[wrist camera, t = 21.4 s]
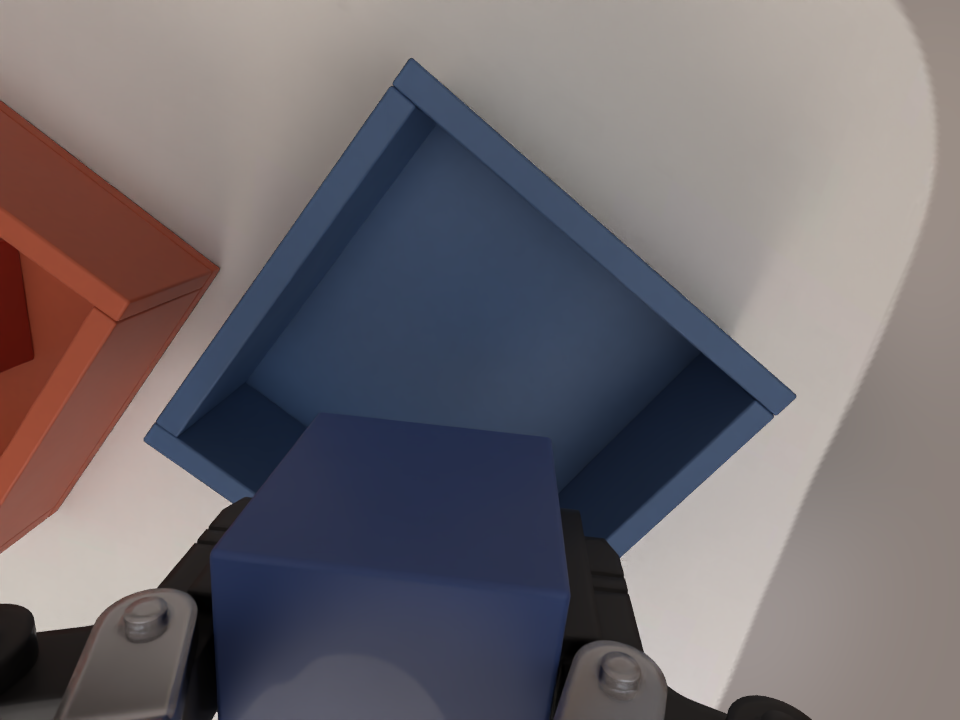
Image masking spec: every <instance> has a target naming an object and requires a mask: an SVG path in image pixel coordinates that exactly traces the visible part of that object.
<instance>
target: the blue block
mask: <svg viewBox="0 0 960 720" xmlns="http://www.w3.org/2000/svg"><path fill="white" fill-rule="evenodd" d="M210 573H211V592H212V611H213V630H214V649H215V668H216V687H217V706H218V720H550V715H551V709H552V703H553V697H554V691H555V685H556V679H557V673H558V668H559V662H560V656H561V650H562V644H563V638H564V632H565V626H566V621H567V615H568V609H569V603H570V597H571V594H570V586H569V578H568V570H567V562H566V554H565V546H564V538H563V530H562V521H561V513H560V505H559V497H558V489H557V481H556V473H555V465H554V457H553V448H552V442H551V439H550V438H548V437H542V436H533V435H524V434H515V433H506V432H496V431H487V430H478V429H469V428H460V427H451V426H442V425H433V424H424V423H415V422H406V421H397V420H388V419H379V418H370V417H361V416H352V415H343V414H334V413H325V412H322V413H318V415H317V416H316V417H315V418H314V420H313V421H312V422H311V424H310V425H309V426H308V427H307V429H306V430H305V431H304V433H303V434H302V435H301V436H300V438H299V439H298V440H297V441H296V443H295V444H294V445H293V447H292V448H291V449H290V450H289V452H288V453H287V454H286V456H285V457H284V458H283V459H282V461H281V462H280V463H279V464H278V466H277V467H276V468H275V470H274V471H273V472H272V473H271V475H270V476H269V477H268V479H267V480H266V481H265V482H264V484H263V485H262V486H261V488H260V489H259V490H258V491H257V493H256V494H255V495H254V496H253V498H252V499H251V500H250V502H249V503H248V504H247V505H246V507H245V508H244V509H243V511H242V512H241V513H240V514H239V516H238V517H237V518H236V519H235V521H234V522H233V523H232V525H231V526H230V527H229V528H228V530H227V531H226V532H225V534H224V535H223V536H222V537H221V539H220V540H219V541H218V542H217V544H216V545H215V546H214V548H213V549H212V551H211V553H210Z"/></svg>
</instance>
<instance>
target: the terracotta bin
mask: <svg viewBox="0 0 960 720" xmlns="http://www.w3.org/2000/svg"><path fill="white" fill-rule="evenodd" d="M0 238H2V239H3V240H5V241H6V242H8V243H9V244H10V245H12V246H13V247H14V248H16V249H17V250H19V257H20V264H21V271H22V278H23V285H24V292H25V299H26V306H27V313H28V320H29V327H30V334H31V341H32V348H33V355H34V359H33V360H31V361H28V362H26V363H24V364H21V365H19V366H16V367H14V368H11V369H9V370H6V371H4V372H2V373H0V554H1V553H2V552H3V551H4V550H6V549H7V548H8V547H10V546H11V545H12V544H14V543H15V542H16V541H18V540H19V539H20V538H22V537H23V536H24V535H26V534H27V533H28V532H29V531H31V530H32V529H33V528H35V527H36V526H37V525H39V524H40V523H41V522H43V521H44V520H45V519H47V517H49V516H51V515H52V514H53V513H55V512H56V511H57V510H58V509H59V507H60V506H61V504H62V503H63V501H64V500H65V498H66V497H67V495H68V494H69V493H70V491H71V490H72V488H73V487H74V485H75V484H76V482H77V481H78V479H79V478H80V476H81V475H82V473H83V472H84V470H85V469H86V467H87V466H88V464H89V463H90V461H91V460H92V458H93V457H94V456H95V454H96V453H97V451H98V450H99V448H100V447H101V445H102V444H103V442H104V441H105V439H106V438H107V436H108V435H109V433H110V432H111V430H112V429H113V427H114V426H115V424H116V423H117V421H118V420H119V418H120V417H121V416H122V414H123V413H124V411H125V410H126V408H127V407H128V405H129V404H130V402H131V401H132V399H133V398H134V396H135V395H136V393H137V392H138V390H139V389H140V387H141V386H142V384H143V383H144V381H145V380H146V379H147V377H148V376H149V374H150V373H151V371H152V370H153V368H154V367H155V365H156V364H157V362H158V361H159V359H160V358H161V356H162V355H163V353H164V352H165V350H166V349H167V347H168V346H169V344H170V343H171V341H172V340H173V339H174V337H175V336H176V334H177V333H178V331H179V330H180V328H181V327H182V325H183V324H184V322H185V321H186V319H187V318H188V316H189V315H190V313H191V312H192V310H193V309H194V307H195V306H196V304H197V303H198V302H199V300H200V299H201V297H202V296H203V294H204V293H205V291H206V290H207V288H208V287H209V285H210V284H211V282H212V281H213V279H214V278H215V276H216V275H217V273H218V272H219V270H220V268H218V267H217V266H216V265H215V264H213V263H212V262H211V261H209V260H208V259H207V258H205V257H204V256H203V255H201V254H200V253H199V252H198V251H196V250H195V249H194V248H192V247H191V246H190V245H188V244H187V243H186V242H185V241H183V240H182V239H181V238H179V237H178V236H177V235H175V234H174V233H173V232H171V231H170V230H169V229H168V228H166V227H165V226H164V225H162V224H161V223H160V222H158V221H157V220H156V219H154V218H153V217H152V216H151V215H149V214H148V213H147V212H145V211H144V210H143V209H141V208H140V207H139V206H137V205H136V204H135V203H134V202H132V201H131V200H130V199H128V198H127V197H126V196H124V195H123V194H122V193H120V192H119V191H118V190H117V189H115V188H114V187H113V186H111V185H110V184H109V183H107V182H106V181H105V180H103V179H102V178H101V177H100V176H98V175H97V174H96V173H94V172H93V171H92V170H90V169H89V168H88V167H87V166H85V165H84V164H83V163H81V162H80V161H79V160H77V159H76V158H75V157H73V156H72V155H71V154H70V153H68V152H67V151H66V150H64V149H63V148H62V147H60V146H59V145H58V144H56V143H55V142H54V141H53V140H51V139H50V138H49V137H47V136H46V135H45V134H43V133H42V132H41V131H39V130H38V129H37V128H36V127H34V126H33V125H32V124H30V123H29V122H28V121H26V120H25V119H24V118H22V117H21V116H20V115H19V114H17V113H16V112H15V111H13V110H12V109H11V108H9V107H8V106H7V105H5V104H4V103H3V102H2V101H0Z"/></svg>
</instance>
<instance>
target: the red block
mask: <svg viewBox="0 0 960 720" xmlns="http://www.w3.org/2000/svg"><path fill="white" fill-rule="evenodd" d="M33 359H34V355H33V348H32V341H31V334H30V327H29V320H28V313H27V306H26V299H25V292H24V285H23V278H22V271H21V264H20V257H19V250H17V249H16V248H14V247H13V246H12V245H10V244H9V243H8V242H6V241H5V240H3V239H2V238H0V373H2V372H4V371H6V370H9V369H11V368H14V367H16V366H19V365H21V364H24V363H26V362H28V361H31V360H33Z"/></svg>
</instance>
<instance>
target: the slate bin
mask: <svg viewBox="0 0 960 720" xmlns="http://www.w3.org/2000/svg"><path fill="white" fill-rule="evenodd" d="M795 398H796V394H795V393H793V392H792V391H791V390H790V389H789V388H788V387H787V386H785V385H784V384H783V383H782V382H781V381H780V380H779V379H778V378H776V377H775V376H774V375H773V374H772V373H771V372H770V371H768V370H767V369H766V368H765V367H764V366H763V365H762V364H760V363H759V362H758V361H757V360H756V359H755V358H754V357H752V356H751V355H750V354H749V353H748V352H747V351H746V350H744V349H743V348H742V347H741V346H740V345H739V344H738V343H737V342H735V341H734V340H733V339H732V338H731V337H730V336H729V335H727V334H726V333H725V332H724V331H723V330H722V329H721V328H719V327H718V326H717V325H716V324H715V323H714V322H713V321H711V320H710V319H709V318H708V317H707V316H706V315H705V314H703V313H702V312H701V311H700V310H699V309H698V308H697V307H695V306H694V305H693V304H692V303H691V302H690V301H689V300H688V299H686V298H685V297H684V296H683V295H682V294H681V293H680V292H678V291H677V290H676V289H675V288H674V287H673V286H672V285H670V284H669V283H668V282H667V281H666V280H665V279H664V278H662V277H661V276H660V275H659V274H658V273H657V272H656V271H654V270H653V269H652V268H651V267H650V266H649V265H648V264H647V263H645V262H644V261H643V260H642V259H641V258H640V257H639V256H637V255H636V254H635V253H634V252H633V251H632V250H631V249H629V248H628V247H627V246H626V245H625V244H624V243H623V242H621V241H620V240H619V239H618V238H617V237H616V236H615V235H613V234H612V233H611V232H610V231H609V230H608V229H607V228H606V227H604V226H603V225H602V224H601V223H600V222H599V221H598V220H596V219H595V218H594V217H593V216H592V215H591V214H590V213H588V212H587V211H586V210H585V209H584V208H583V207H582V206H580V205H579V204H578V203H577V202H576V201H575V200H574V199H572V198H571V197H570V196H569V195H568V194H567V193H566V192H565V191H563V190H562V189H561V188H560V187H559V186H558V185H557V184H555V183H554V182H553V181H552V180H551V179H550V178H549V177H547V176H546V175H545V174H544V173H543V172H542V171H541V170H539V169H538V168H537V167H536V166H535V165H534V164H533V163H531V162H530V161H529V160H528V159H527V158H526V157H525V156H524V155H522V154H521V153H520V152H519V151H518V150H517V149H516V148H514V147H513V146H512V145H511V144H510V143H509V142H508V141H506V140H505V139H504V138H503V137H502V136H501V135H500V134H498V133H497V132H496V131H495V130H494V129H493V128H492V127H490V126H489V125H488V124H487V123H486V122H485V121H484V120H483V119H481V118H480V117H479V116H478V115H477V114H476V113H475V112H473V111H472V110H471V109H470V108H469V107H468V106H467V105H465V104H464V103H463V102H462V101H461V100H460V99H459V98H457V97H456V96H455V95H454V94H453V93H452V92H451V91H449V90H448V89H447V88H446V87H445V86H444V85H443V84H442V83H440V82H439V81H438V80H437V79H436V78H435V77H434V76H432V75H431V74H430V73H429V72H428V71H427V70H426V69H424V68H423V67H422V66H421V65H420V64H419V63H418V62H416V61H415V60H414V59H413V58H410V59H409V60H408V61H407V63H406V64H405V66H404V67H403V68H402V70H401V71H400V73H399V74H398V76H397V77H396V78H395V80H394V81H393V86H390V87H389V89H388V90H387V91H386V93H385V94H384V96H383V97H382V99H381V100H380V101H379V103H378V104H377V106H376V107H375V109H374V110H373V111H372V113H371V114H370V116H369V117H368V119H367V120H366V121H365V123H364V124H363V126H362V127H361V129H360V130H359V131H358V133H357V134H356V136H355V137H354V139H353V140H352V141H351V143H350V144H349V146H348V147H347V149H346V150H345V151H344V153H343V154H342V156H341V157H340V159H339V160H338V161H337V163H336V164H335V166H334V167H333V169H332V170H331V171H330V173H329V174H328V176H327V177H326V179H325V180H324V181H323V183H322V184H321V186H320V187H319V189H318V190H317V191H316V193H315V194H314V196H313V197H312V199H311V200H310V201H309V203H308V204H307V206H306V207H305V209H304V210H303V211H302V213H301V214H300V216H299V217H298V219H297V220H296V221H295V223H294V224H293V226H292V227H291V229H290V230H289V231H288V233H287V234H286V236H285V237H284V239H283V240H282V241H281V243H280V244H279V246H278V247H277V249H276V250H275V251H274V253H273V254H272V256H271V257H270V259H269V260H268V261H267V263H266V264H265V266H264V267H263V269H262V270H261V271H260V273H259V274H258V276H257V277H256V279H255V280H254V281H253V283H252V284H251V286H250V287H249V289H248V290H247V291H246V293H245V294H244V296H243V297H242V299H241V300H240V301H239V303H238V304H237V306H236V307H235V309H234V310H233V311H232V313H231V314H230V316H229V317H228V319H227V320H226V321H225V323H224V324H223V326H222V327H221V329H220V330H219V331H218V333H217V334H216V336H215V337H214V339H213V340H212V341H211V343H210V344H209V346H208V347H207V349H206V350H205V351H204V353H203V354H202V356H201V357H200V359H199V360H198V361H197V363H196V364H195V366H194V367H193V369H192V370H191V371H190V373H189V374H188V376H187V377H186V379H185V380H184V381H183V383H182V384H181V386H180V387H179V389H178V390H177V391H176V393H175V394H174V396H173V397H172V399H171V400H170V401H169V403H168V404H167V406H166V407H165V409H164V410H163V411H162V413H161V414H160V416H159V417H158V419H157V420H156V422H155V423H154V424H153V426H152V427H151V429H150V430H149V432H148V433H147V434H146V436H145V437H144V442H146V443H147V444H148V445H150V446H151V447H153V448H154V449H156V450H157V451H158V452H160V453H161V454H163V455H164V456H166V457H167V458H169V459H170V460H171V461H173V462H174V463H176V464H177V465H179V466H180V467H181V468H183V469H184V470H186V471H187V472H189V473H190V474H191V475H193V476H194V477H196V478H197V479H199V480H200V481H201V482H203V483H204V484H206V485H207V486H209V487H210V488H211V489H213V490H214V491H216V492H217V493H219V494H220V495H222V496H223V497H224V498H226V499H227V500H229V501H230V502H232V503H235V502H237V501H238V500H240V499H242V498H244V497H252V498H253V496H254V495H255V494H256V493H257V491H258V490H259V489H260V488H261V486H262V485H263V484H264V482H265V481H266V480H267V479H268V477H269V476H270V475H271V473H272V472H273V471H274V470H275V468H276V467H277V466H278V464H279V463H280V462H281V461H282V459H283V458H284V457H285V456H286V454H287V453H288V452H289V450H290V449H291V448H292V447H293V445H294V444H295V443H296V441H297V440H298V439H299V438H300V436H301V435H302V434H303V433H304V431H305V430H306V429H307V427H308V426H309V425H310V424H311V422H312V421H313V420H314V418H315V417H316V416H317V415H318V413H322V412H325V413H334V414H343V415H352V416H361V417H370V418H379V419H388V420H397V421H406V422H415V423H424V424H433V425H442V426H451V427H460V428H469V429H478V430H487V431H496V432H506V433H515V434H524V435H533V436H542V437H548V438H550V439H551V442H552V448H553V457H554V465H555V473H556V481H557V489H558V497H559V505H560V508H566V509H574V510H579V511H580V515H581V521H582V526H583V532H584V536H588V537H597V538H604V539H605V540H606V541H607V542H608V543H609V545H610V546H611V547H612V548H613V549H614V551H615V552H616V553H617V554H618V555H619V558H620V557H621V556H623V555H624V554H625V553H626V552H627V551H628V550H629V549H630V548H631V547H632V546H633V545H635V544H636V543H637V542H638V541H639V540H640V539H641V538H642V537H643V536H644V535H646V534H647V533H648V532H649V531H650V530H651V529H652V528H653V527H654V526H655V525H657V524H658V523H659V522H660V521H661V520H662V519H663V518H664V517H665V516H666V515H668V514H669V513H670V512H671V511H672V510H673V509H674V508H675V507H676V506H677V505H679V504H680V503H681V502H682V501H683V500H684V499H685V498H686V497H687V496H688V495H689V494H691V493H692V492H693V491H694V490H695V489H696V488H697V487H698V486H699V485H700V484H702V483H703V482H704V481H705V480H706V479H707V478H708V477H709V476H710V475H711V474H713V473H714V472H715V471H716V470H717V469H718V468H719V467H720V466H721V465H722V464H724V463H725V462H726V461H727V460H728V459H729V458H730V457H731V456H732V455H733V454H735V453H736V452H737V451H738V450H739V449H740V448H741V447H742V446H743V445H744V444H745V443H747V442H748V441H749V440H750V439H751V438H752V437H753V436H754V435H755V434H756V433H758V432H759V431H760V430H761V429H762V428H763V427H764V426H765V425H766V424H767V423H769V422H770V421H771V420H772V419H773V418H774V415H778V414H779V413H780V412H781V411H782V410H783V409H784V408H785V407H786V406H788V405H789V404H790V403H791V402H792V401H793V400H794V399H795Z"/></svg>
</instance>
